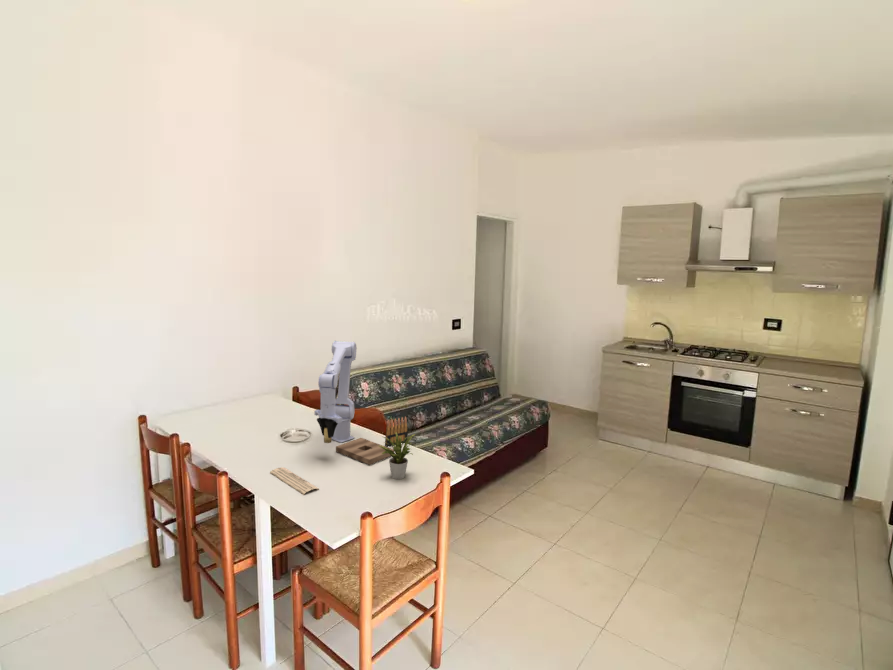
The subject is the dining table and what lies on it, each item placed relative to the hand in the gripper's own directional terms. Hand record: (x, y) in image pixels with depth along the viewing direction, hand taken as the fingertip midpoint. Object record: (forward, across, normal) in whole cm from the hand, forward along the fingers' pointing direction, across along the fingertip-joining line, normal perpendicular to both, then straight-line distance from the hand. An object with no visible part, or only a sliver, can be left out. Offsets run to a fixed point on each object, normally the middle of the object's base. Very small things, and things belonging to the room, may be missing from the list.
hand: (327, 435), depth 197 cm
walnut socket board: (+9, +8, +13) cm, 18 cm away
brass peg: (+2, 0, 0) cm, 2 cm away
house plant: (+9, +32, +8) cm, 34 cm away
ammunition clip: (+10, +10, +30) cm, 33 cm away
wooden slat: (+10, +8, -21) cm, 25 cm away
